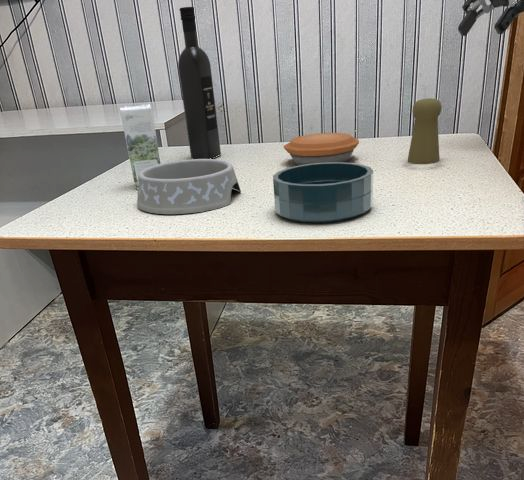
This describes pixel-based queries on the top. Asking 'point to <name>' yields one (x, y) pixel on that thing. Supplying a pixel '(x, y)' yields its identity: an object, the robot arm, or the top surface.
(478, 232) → the top surface
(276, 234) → the top surface
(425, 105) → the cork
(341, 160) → the pie
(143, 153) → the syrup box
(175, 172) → the dog bowl
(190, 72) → the wine bottle
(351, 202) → the bowl
